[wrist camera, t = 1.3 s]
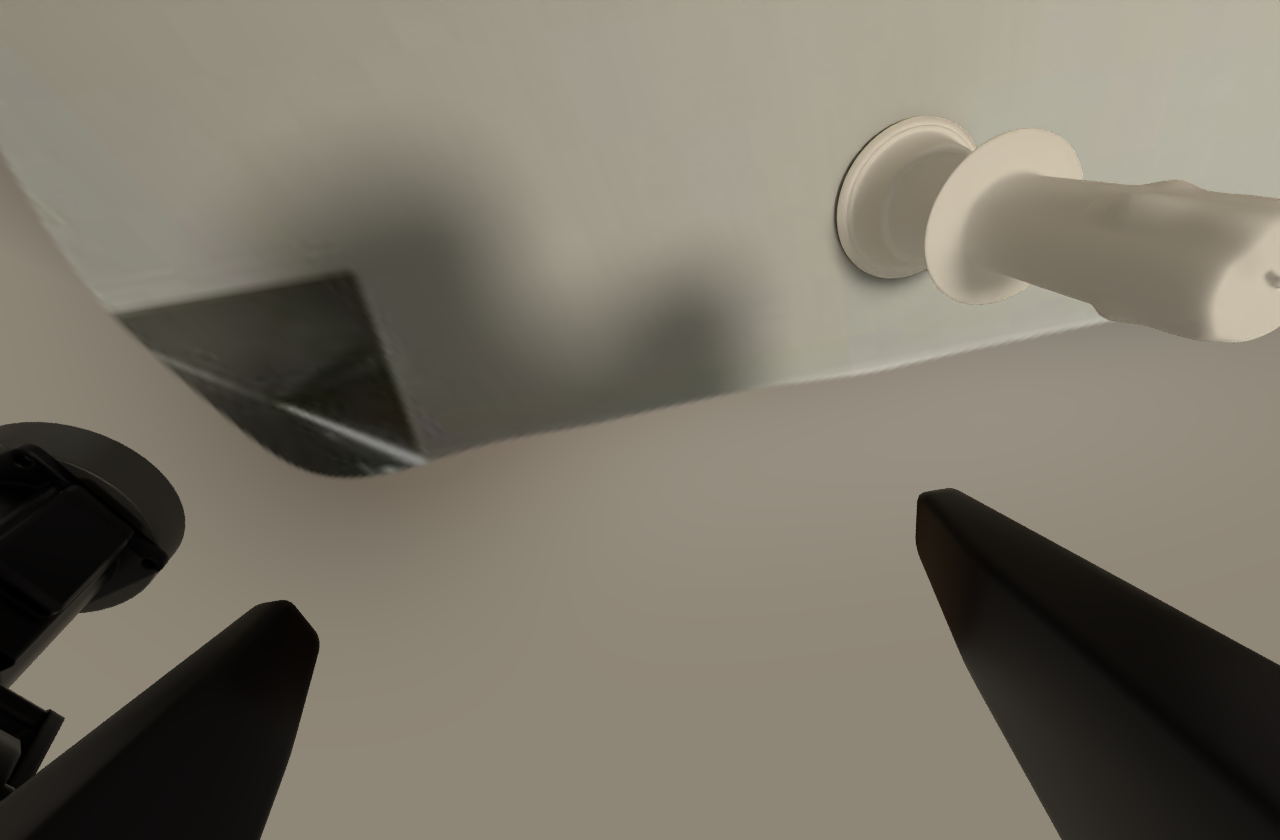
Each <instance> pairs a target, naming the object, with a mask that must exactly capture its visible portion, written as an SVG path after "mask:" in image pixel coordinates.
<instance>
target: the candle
mask: <svg viewBox="0 0 1280 840" xmlns="http://www.w3.org/2000/svg"><path fill="white" fill-rule="evenodd" d="M837 228H838V234H839V238H840V241H841V244H842V247H843V249H844V251H845V253H846V254H847V256H848V257H849V259H850V260H851V261H852V262H853V263H854V264H855V265H856V266H857V267H858V268H860V269H861V270H862V271H864V272H866V273H868V274H870V275H873V276H876V277H880V278H890V279H892V278H902V277H907V276H911V275H914V274H916V273H919V272H921V271H923V270H925V269H927V270H928V273H929V275H930V277H931V279H932V281H933V282H934V284H935V285H936V287H937V288H938V289H939V290H940V291H941V292H942V293H943V294H945V295H946V296H947V297H949V298H951V299H953V300H955V301H957V302H961V303H965V304H971V305H982V304H990V303H994V302H998V301H1001V300H1004V299H1006V298H1009V297H1011V296H1013V295H1015V294H1017V293H1019V292H1020V291H1022V290H1023V289H1025V288H1027V287H1028V286H1029V285H1031V284H1033V285H1036V286H1039V287H1042V288H1045V289H1048V290H1051V291H1054V292H1057V293H1060V294H1063V295H1066V296H1069V297H1072V298H1075V299H1078V300H1081V301H1084V302H1087V303H1090V304H1092V305H1093V306H1094V308H1095V309H1096V311H1097V312H1098V314H1099V315H1100V316H1102V317H1104V318H1106V319H1108V320H1111V321H1117V322H1124V323H1133V324H1139V325H1144V326H1148V327H1152V328H1155V329H1158V330H1161V331H1164V332H1168V333H1171V334H1174V335H1178V336H1181V337H1185V338H1189V339H1194V340H1200V341H1214V342H1215V341H1216V342H1226V343H1236V342H1244V341H1249V340H1252V339H1256V338H1258V337H1261V336H1263V335H1265V334H1267V333H1269V332H1271V331H1273V330H1275V329H1276V328H1278V327H1279V326H1280V199H1277V198H1270V197H1263V196H1253V195H1242V194H1229V193H1219V192H1213V191H1208V190H1205V189H1202V188H1199V187H1197V186H1195V185H1193V184H1190V183H1188V182H1186V181H1180V180H1168V181H1162V182H1156V183H1151V184H1145V185H1124V184H1114V183H1105V182H1096V181H1087V180H1083V172H1082V168H1081V164H1080V161H1079V159H1078V157H1077V155H1076V153H1075V151H1074V150H1073V148H1072V147H1071V146H1070V144H1069V143H1068V142H1067V141H1066V140H1064V139H1063V138H1062V137H1060V136H1059V135H1057V134H1055V133H1053V132H1051V131H1048V130H1044V129H1038V128H1023V129H1017V130H1013V131H1009V132H1006V133H1003V134H1001V135H998V136H996V137H994V138H992V139H990V140H989V141H987V142H985V143H984V144H982V145H981V146H979V147H978V148H976V146H975V144H974V142H973V140H972V139H971V137H970V136H969V135H968V133H967V132H966V131H965V130H964V129H963V128H962V127H960V126H959V125H958V124H956V123H954V122H953V121H950V120H948V119H945V118H942V117H938V116H918V117H913V118H909V119H906V120H903V121H900V122H898V123H896V124H894V125H892V126H890V127H889V128H887V129H886V130H884V131H883V132H881V133H880V134H879V135H877V136H876V137H875V138H874V139H873V140H872V141H871V142H870V143H869V144H868V145H867V146H866V147H865V148H864V149H863V150H862V151H861V153H860V154H859V155H858V157H857V158H856V160H855V161H854V163H853V164H852V166H851V168H850V170H849V171H848V173H847V176H846V178H845V180H844V183H843V185H842V188H841V192H840V196H839V200H838V207H837Z"/></svg>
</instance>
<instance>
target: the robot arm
mask: <svg viewBox="0 0 1280 840" xmlns="http://www.w3.org/2000/svg"><path fill="white" fill-rule="evenodd" d="M24 456H26V457H28V458H29V459H30V460H31V461H29V460H28V459H26V458H25V457H24ZM916 518H917V519H916V545H917V550H918V554H919V556H920V559H921V561H922V564H923V566H924V569H925V571H926V573H927V576H928V578H929V580H930V583H931V585H932V588H933V590H934V592H935V595H936V597H937V600H938V602H939V604H940V607H941V609H942V611H943V614H944V616H945V619H946V621H947V623H948V626H949V628H950V630H951V633H952V635H953V638H954V640H955V642H956V644H957V647H958V649H959V652H960V654H961V656H962V658H963V661H964V663H965V665H966V667H967V669H968V671H969V673H970V675H971V677H972V678H973V680H974V682H975V684H976V686H977V688H978V690H979V691H980V693H981V695H982V697H983V699H984V700H985V702H986V704H987V706H988V708H989V709H990V711H991V713H992V715H993V717H994V719H995V720H996V722H997V724H998V726H999V727H1000V729H1001V731H1002V733H1003V735H1004V736H1005V738H1006V740H1007V742H1008V743H1009V746H1010V747H1011V749H1012V751H1013V753H1014V755H1015V756H1016V758H1017V760H1018V762H1019V764H1020V765H1021V767H1022V769H1023V771H1024V773H1025V774H1026V776H1027V778H1028V780H1029V781H1030V783H1031V785H1032V787H1033V789H1034V790H1035V792H1036V794H1037V796H1038V798H1039V800H1040V801H1041V803H1042V805H1043V807H1044V809H1045V810H1046V812H1047V814H1048V816H1049V817H1050V819H1051V821H1052V823H1053V825H1054V827H1055V828H1056V830H1057V832H1058V834H1059V836H1060V837H1061V839H1062V840H1280V665H1278V664H1276V663H1274V662H1273V661H1271V660H1269V659H1267V658H1265V657H1263V656H1262V655H1260V654H1258V653H1256V652H1254V651H1252V650H1251V649H1249V648H1247V647H1245V646H1243V645H1241V644H1239V643H1238V642H1236V641H1234V640H1232V639H1230V638H1229V637H1227V636H1225V635H1223V634H1221V633H1219V632H1218V631H1216V630H1214V629H1212V628H1210V627H1208V626H1207V625H1205V624H1203V623H1201V622H1199V621H1197V620H1196V619H1194V618H1192V617H1189V616H1188V615H1186V614H1184V613H1183V612H1181V611H1179V610H1177V609H1175V608H1173V607H1172V606H1170V605H1168V604H1166V603H1164V602H1162V601H1161V600H1159V599H1157V598H1155V597H1153V596H1151V595H1150V594H1148V593H1146V592H1144V591H1142V590H1140V589H1139V588H1137V587H1135V586H1133V585H1131V584H1129V583H1127V582H1126V581H1124V580H1122V579H1120V578H1118V577H1116V576H1115V575H1113V574H1111V573H1109V572H1107V571H1106V570H1104V569H1102V568H1100V567H1098V566H1096V565H1095V564H1093V563H1091V562H1089V561H1087V560H1085V559H1084V558H1082V557H1080V556H1078V555H1076V554H1074V553H1072V552H1071V551H1069V550H1067V549H1065V548H1063V547H1061V546H1059V545H1058V544H1056V543H1054V542H1052V541H1050V540H1049V539H1047V538H1045V537H1043V536H1041V535H1039V534H1038V533H1035V532H1034V531H1032V530H1030V529H1028V528H1027V527H1025V526H1023V525H1021V524H1019V523H1017V522H1015V521H1014V520H1012V519H1010V518H1008V517H1006V516H1004V515H1003V514H1001V513H999V512H997V511H995V510H994V509H992V508H990V507H988V506H986V505H984V504H983V503H981V502H979V501H977V500H975V499H973V498H972V497H970V496H968V495H966V494H964V493H962V492H961V491H959V490H956V489H953V488H946V489H940V490H934V491H928V492H924V493H922V494H920V495H919V498H918V501H917V517H916ZM149 559H151V560H153V561H154V562H152V561H150V560H149ZM168 560H169V558H168V555H167V554H166V553H165V552H164V551H163V550H162V549H161V548H159V547H158V546H157V545H156V544H155V543H154V542H152V541H151V540H150V539H149V538H148V537H146V536H145V535H144V534H143V533H142V532H140V531H139V530H138V529H137V528H136V527H135V526H133V525H132V524H131V523H130V522H129V521H127V520H126V519H125V518H124V517H123V516H122V515H120V514H119V513H118V512H117V511H116V510H114V509H113V508H112V507H111V506H110V505H109V504H107V503H106V502H105V501H104V500H103V499H101V498H100V497H99V496H98V495H97V494H95V493H94V492H93V491H92V490H91V489H90V488H88V487H87V486H86V485H85V484H84V483H82V482H81V481H80V480H79V479H78V478H77V477H75V476H74V475H73V474H72V473H71V472H69V471H68V470H67V469H66V468H65V467H64V466H62V465H61V464H60V463H59V462H58V461H56V460H55V459H54V458H53V457H52V456H50V455H49V454H48V453H47V452H46V451H45V450H43V449H42V448H40V447H39V446H36V445H33V444H21V445H18V446H16V447H14V448H12V449H10V450H8V451H6V452H3V453H1V454H0V840H260V838H261V835H262V833H263V830H264V827H265V824H266V822H267V819H268V816H269V813H270V810H271V808H272V805H273V802H274V800H275V797H276V794H277V792H278V789H279V786H280V783H281V781H282V777H283V775H284V772H285V769H286V766H287V764H288V760H289V757H290V755H291V751H292V748H293V744H294V741H295V738H296V734H297V730H298V727H299V723H300V719H301V715H302V712H303V708H304V704H305V701H306V697H307V693H308V689H309V686H310V682H311V678H312V675H313V670H314V667H315V663H316V660H317V655H318V652H319V638H318V635H317V633H316V631H315V630H314V629H313V628H312V627H311V625H310V624H309V623H308V621H307V620H306V619H305V618H304V616H303V615H302V614H301V613H300V612H299V610H298V609H297V608H296V607H295V605H293V604H292V603H291V602H289V601H287V600H279V601H273V602H267V603H262V604H259V605H257V606H255V607H253V608H252V609H251V610H249V611H248V612H246V613H245V614H244V615H243V616H241V617H240V618H239V619H237V620H236V621H235V622H233V623H232V624H231V625H230V626H228V627H227V628H226V629H224V630H223V631H222V632H220V633H219V634H218V635H217V636H216V637H214V638H213V639H211V640H210V641H209V642H208V643H206V644H205V645H203V646H202V647H201V648H200V649H199V650H197V651H196V652H195V653H193V654H192V655H190V656H189V657H188V658H187V659H185V660H184V661H183V662H182V663H180V664H179V665H177V666H176V667H175V668H174V669H172V670H171V671H170V672H168V673H167V674H166V675H164V676H163V677H162V678H161V679H159V680H158V681H157V682H155V683H154V684H153V685H151V686H150V687H149V688H148V689H146V690H145V691H144V692H142V693H141V694H140V695H138V696H137V697H136V698H135V699H133V700H132V701H131V702H129V703H128V704H127V705H125V706H124V707H123V708H121V709H120V710H119V711H118V712H116V713H115V714H114V715H112V716H111V717H110V718H108V719H107V720H106V721H105V722H103V723H102V724H101V725H99V726H98V727H97V728H96V729H94V730H93V731H92V732H90V733H89V734H88V735H86V736H85V737H84V738H82V739H81V740H80V741H78V742H77V743H76V744H75V745H73V746H72V747H71V748H69V749H68V750H67V751H65V753H63V754H62V755H60V756H59V757H58V758H56V759H55V760H54V761H52V762H51V763H50V764H49V765H47V766H46V767H45V768H43V769H42V770H41V771H40V772H38V773H37V774H36V772H37V770H38V768H39V767H40V765H41V763H42V761H43V759H44V757H45V755H46V753H47V752H48V750H49V748H50V746H51V744H52V742H53V740H54V738H55V736H56V735H57V733H58V730H59V729H60V727H61V725H62V723H63V721H64V719H65V718H64V717H62V716H61V715H59V714H57V713H56V712H54V711H52V710H51V709H49V710H46V711H45V710H44V709H42V708H40V707H39V706H37V705H35V704H33V703H32V702H30V701H28V700H27V699H25V698H23V697H22V696H20V695H18V694H16V693H15V692H13V691H12V690H10V689H8V688H9V687H10V686H11V685H12V684H13V683H14V682H15V681H16V680H17V678H18V677H19V676H20V675H21V674H22V673H23V672H24V671H25V670H26V669H27V668H28V667H29V666H30V665H31V664H32V662H33V661H34V660H35V659H36V658H37V657H38V656H39V655H40V654H41V653H42V652H43V650H45V648H46V647H47V646H48V645H49V644H50V643H51V642H52V641H53V640H54V639H55V638H56V637H57V636H58V634H59V633H60V632H61V631H62V630H63V629H64V628H65V627H66V626H67V625H68V624H69V623H70V622H71V621H72V620H73V618H74V617H75V616H76V615H77V614H78V613H79V612H80V611H81V610H82V609H83V608H84V607H85V606H86V605H88V604H90V603H92V602H94V601H97V600H99V599H101V598H103V597H105V596H107V595H110V594H112V593H114V592H116V591H118V590H121V589H123V588H125V587H127V586H129V585H131V584H134V583H136V582H138V581H140V580H142V579H144V578H147V577H149V576H151V575H153V574H155V573H158V572H159V571H161V570H162V569H163V568H164V566H165V565H166V564H167V563H168ZM35 774H36V775H35Z"/></svg>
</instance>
